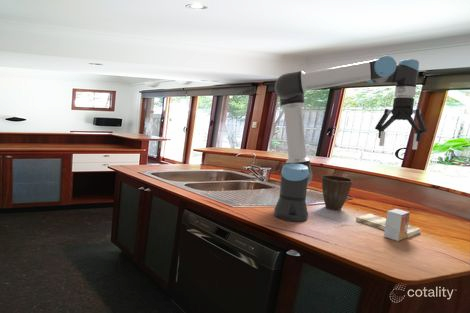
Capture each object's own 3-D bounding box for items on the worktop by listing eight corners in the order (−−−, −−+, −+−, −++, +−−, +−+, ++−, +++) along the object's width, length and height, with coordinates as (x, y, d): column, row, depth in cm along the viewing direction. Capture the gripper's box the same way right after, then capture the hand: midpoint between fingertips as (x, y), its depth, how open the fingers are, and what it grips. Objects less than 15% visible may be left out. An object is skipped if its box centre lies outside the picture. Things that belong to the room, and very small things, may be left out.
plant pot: (354, 210, 148) (357, 179, 147) (339, 214, 138) (343, 182, 137) (327, 203, 159) (331, 174, 157) (312, 206, 149) (316, 176, 147)
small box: (398, 241, 109) (402, 214, 108) (383, 236, 113) (386, 210, 112) (406, 237, 114) (410, 212, 113) (391, 233, 118) (395, 208, 117)
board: (355, 220, 131) (356, 216, 131) (368, 217, 138) (369, 213, 138) (407, 237, 114) (408, 233, 113) (419, 232, 121) (420, 228, 121)
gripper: (370, 97, 129) (364, 144, 132) (434, 95, 110) (426, 151, 112) (378, 99, 134) (373, 144, 136) (441, 98, 114) (433, 151, 117)
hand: (397, 147), depth 124 cm, fingers open, 13 cm apart
